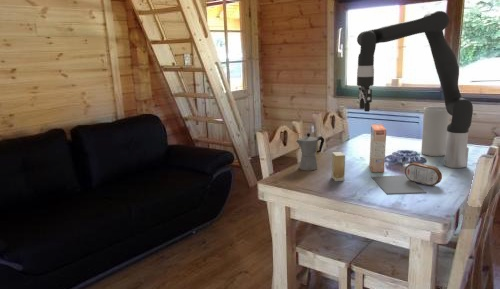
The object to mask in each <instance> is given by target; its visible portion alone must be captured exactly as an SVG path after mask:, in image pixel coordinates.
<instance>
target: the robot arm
mask: <svg viewBox="0 0 500 289" xmlns="http://www.w3.org/2000/svg"><path fill="white" fill-rule="evenodd" d="M449 23H450V15H448V13H446V11H443V10H434V11H429V12H427V13H425V15H423V17H421V18H417V19H413V20H408V21H402V22H398V23H393V24H389V25H385V26H382V27H379V28H375V29H369V30H364V31H361V32H360V33H359V34H358V36H357V38H356V42H357V44H358V45H359V46H360V51H359V54H358V58H357V59H358V60H357V68H356V71H357V72H356V74H357V75H356V86H358V97H357V99H358V100H359V109H360V110H364V112H367V113H368V112H370V108H371V107H370V106H371V103H372V102H373V89H371V88H370V87H373V86H374V85H375V84H374V83H375V82H374V81H375V80H374V79H375V67H374V66H375V65H374V63H375V53H376V52H375V51H376V47H377V44H380V43H388V42H392V41H397V40H400V39H403V38H406V37H410V36H413V35H418V34H424V35H425V37H426V40H427V42H428V45H429V48H430V51H431V56H432V58H433V59H432V60H433V64H434V66H435V70H436V74H437V77H438V80H439V83H440V87H441V89H442V94H443V100H444V105H445V106H444V107H446V110H447V112H448V113H449V114H450V116H451V121H450V123H449V125H448V126H447V135H446V148H445V155H444V163H443V165H444V166H445V167H448V168H450V169H451V168H453V169H463V168H467V167H468V159H469V150H470V147H468V140H469V129H470V128H471V125H472V119H473V114H474V106H473V103H472V102H471V100H469V99H468V98H463V96H462V94H461V92H460V88H459V77H460V67H459V63H458V61H457V57H456V54H455V52H454V51H453V49H452V47H451V46H450V45H449V44H448V42H447V40H446V37H445V33H444V30H445V29H447V27H448V25H449Z"/></svg>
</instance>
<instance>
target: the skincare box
mask: <svg viewBox="0 0 500 289" xmlns="http://www.w3.org/2000/svg"><path fill="white" fill-rule="evenodd" d="M331 153H332V154H331V157H332V158H331V178H332V179H333V180H334V181H335V182H344V181H345V174H346V173H345V172H346V171H345V170H346V155H345V153H343V152H342V151H333V152H331Z"/></svg>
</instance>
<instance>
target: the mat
mask: <svg viewBox="0 0 500 289" xmlns="http://www.w3.org/2000/svg"><path fill="white" fill-rule="evenodd" d="M371 178H372V180H373V181H374V182H375V183H376V184H377V185H378V187H380V188H381V190H382V191H383V192H384V193H385V194H386V195H405V194H407V195H408V194H409V195H410V194H427V193H428V192H427V191H426V190H425V189H424V188H423V187H421V186H420V185H419V184H418V183H417V182H413V181H410V180H409V179H408V178H407V177H406V175H405V174H403V175H400V174H399V175H375V176H373V175H371Z"/></svg>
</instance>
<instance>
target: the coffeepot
mask: <svg viewBox="0 0 500 289" xmlns="http://www.w3.org/2000/svg"><path fill="white" fill-rule="evenodd" d="M318 141H320V144H319V146H318ZM324 142H325V139H324V137H323V136H315V137H313V136H311V133H310V132H307V133H306V136H304V137H301V138H298V139H297V140H296V143H297V144H298V145H299V148H300V150H301V151H300V152H301V156H300V161H299V169H300V170H303V171H315V170H318V163H317V157H316V153H321V152H322V149H323V146H324V144H325V143H324ZM317 146H318V150H317Z"/></svg>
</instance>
